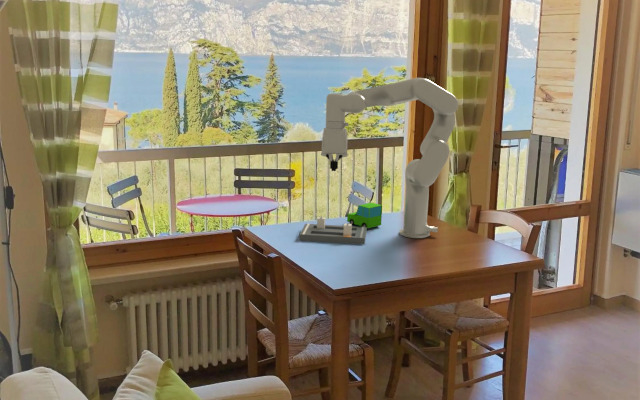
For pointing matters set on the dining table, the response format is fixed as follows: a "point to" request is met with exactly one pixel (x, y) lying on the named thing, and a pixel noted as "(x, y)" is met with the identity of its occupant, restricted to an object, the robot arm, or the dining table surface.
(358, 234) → the switch board
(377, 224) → the toy car
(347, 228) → the tab
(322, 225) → the tab
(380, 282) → the dining table surface
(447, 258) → the dining table surface
